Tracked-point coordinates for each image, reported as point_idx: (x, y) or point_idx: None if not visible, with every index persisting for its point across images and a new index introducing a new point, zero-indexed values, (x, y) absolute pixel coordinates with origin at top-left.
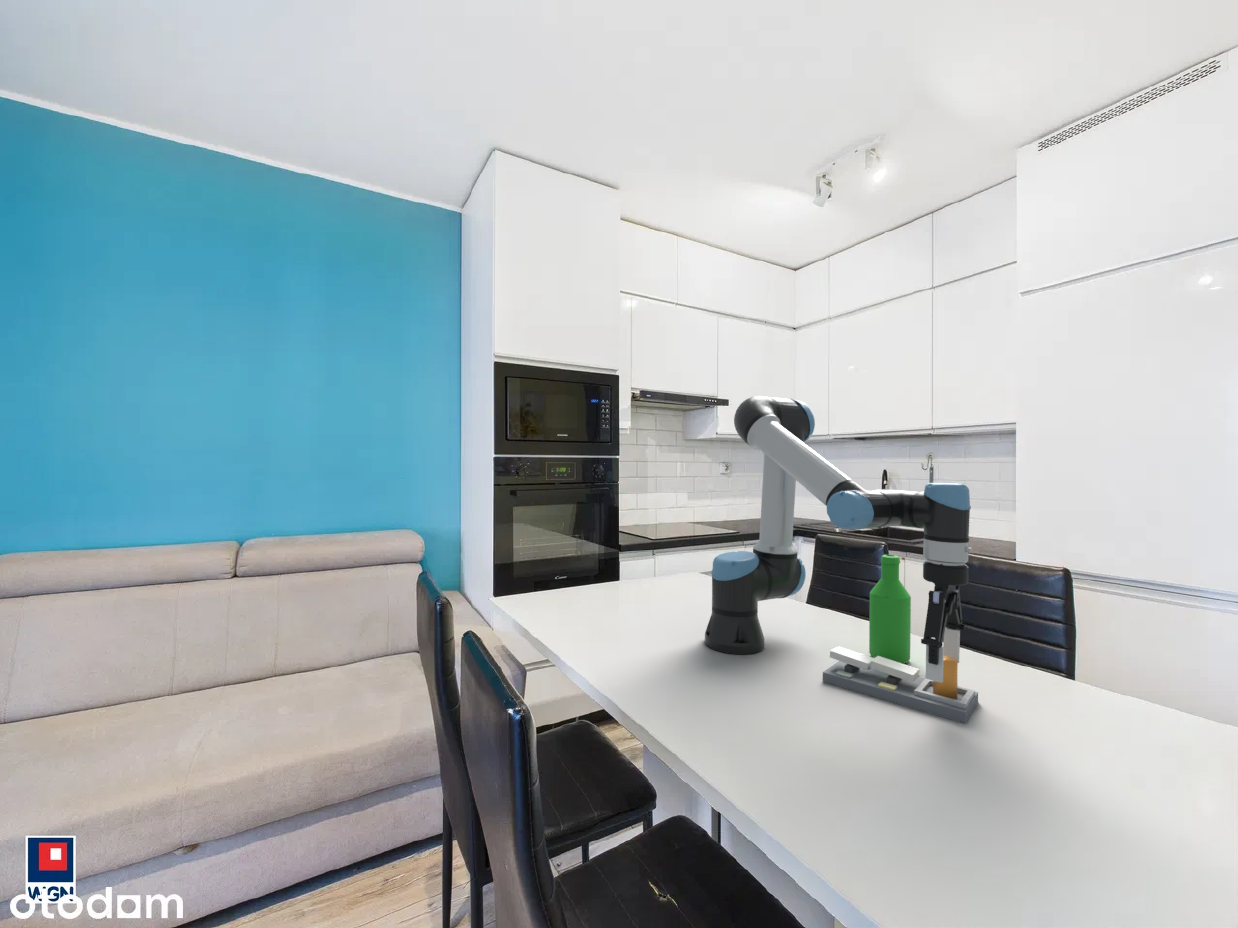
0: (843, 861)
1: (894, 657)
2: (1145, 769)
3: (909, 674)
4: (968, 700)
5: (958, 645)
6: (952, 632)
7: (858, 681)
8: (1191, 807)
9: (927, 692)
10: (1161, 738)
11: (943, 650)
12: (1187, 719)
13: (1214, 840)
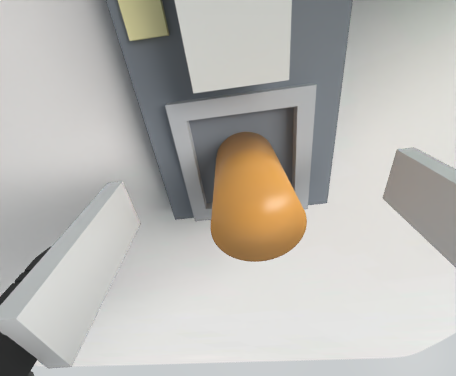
0: None
1: None
2: (237, 335)
3: (190, 76)
4: None
5: (438, 250)
6: None
7: None
8: (185, 353)
9: (185, 139)
10: (346, 335)
11: (79, 341)
12: (435, 341)
13: (140, 361)
